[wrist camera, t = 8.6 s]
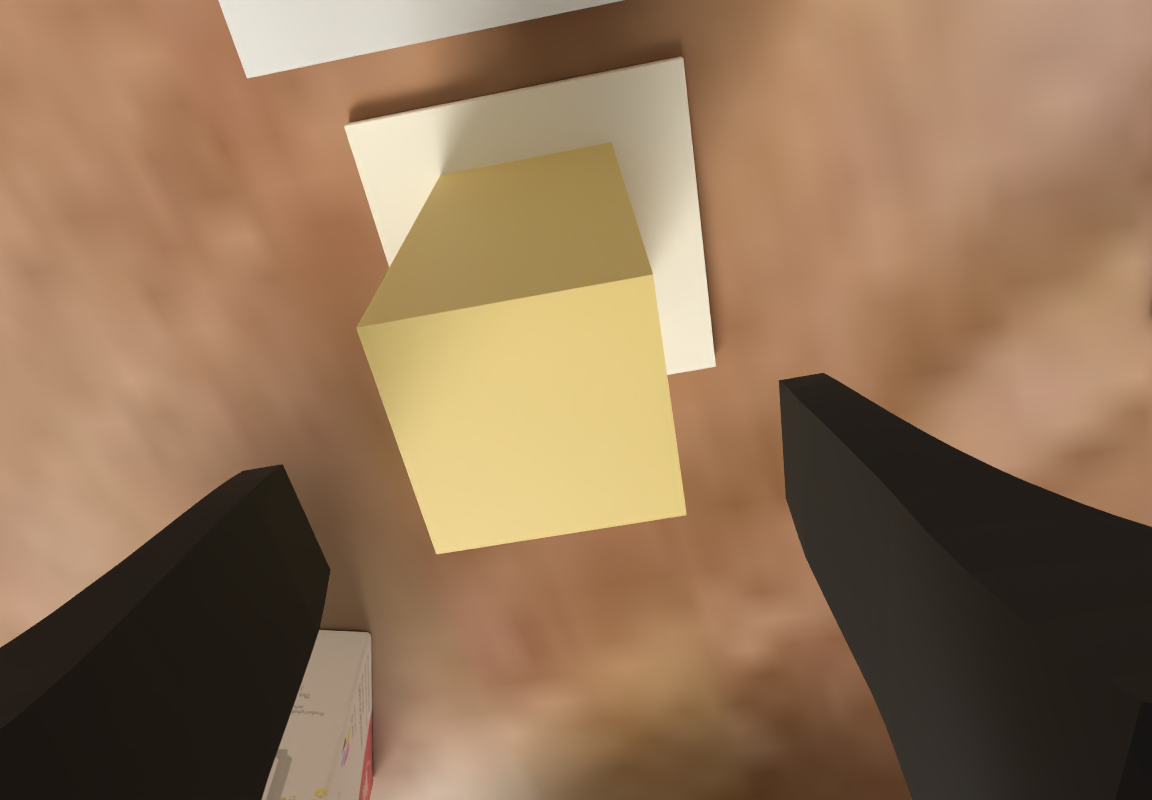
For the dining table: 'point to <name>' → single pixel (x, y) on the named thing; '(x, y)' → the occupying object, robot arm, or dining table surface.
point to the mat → (555, 124)
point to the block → (526, 355)
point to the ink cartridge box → (329, 725)
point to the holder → (363, 26)
